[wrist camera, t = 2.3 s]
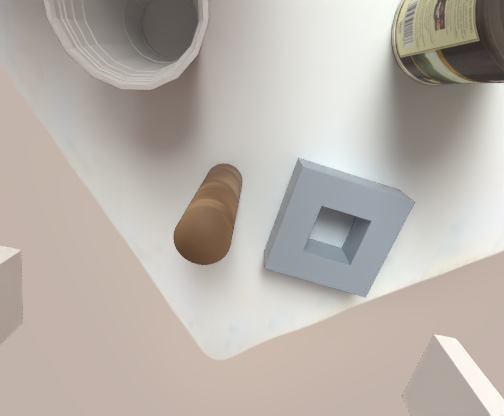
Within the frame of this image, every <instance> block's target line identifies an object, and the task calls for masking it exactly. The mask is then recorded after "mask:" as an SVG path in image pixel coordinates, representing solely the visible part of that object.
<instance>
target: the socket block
mask: <svg viewBox="0 0 504 416" xmlns="http://www.w3.org/2000/svg"><path fill="white" fill-rule="evenodd" d="M414 203H415V201H413V200H412V199H411V198H409V197H408V196H407V195H405V194H404V193H403V192H401V191H400V190H397V189H394V188H391V187H388V186H385V185H382V184H379V183H376V182H372V181H369V180H366V179H363V178H360V177H357V176H354V175H350V174H347V173H344V172H341V171H338V170H335V169H332V168H328V167H325V166H322V165H319V164H316V163H313V162H310V161H306V160H303V159H300V158H298V161H297V163H296V166H295V169H294V172H293V174H292V177H291V180H290V182H289V185H288V188H287V191H286V193H285V196H284V199H283V202H282V204H281V207H280V210H279V212H278V215H277V218H276V221H275V223H274V226H273V229H272V232H271V234H270V237H269V240H268V242H267V245H266V248H265V251H264V261H265V269H269V270H272V271H276V272H279V273H283V274H286V275H290V276H293V277H297V278H300V279H303V280H307V281H310V282H314V283H317V284H321V285H324V286H328V287H331V288H335V289H338V290H342V291H345V292H349V293H352V294H356V295H359V296H363V297H366V296H367V294H368V292H369V290H370V288H371V286H372V284H373V282H374V280H375V278H376V276H377V274H378V273H379V271H380V269H381V267H382V265H383V263H384V261H385V259H386V257H387V255H388V253H389V251H390V249H391V248H392V246H393V244H394V242H395V240H396V238H397V236H398V234H399V232H400V230H401V228H402V226H403V224H404V222H405V221H406V219H407V217H408V215H409V213H410V211H411V209H412V207H413V205H414ZM321 206H324V207H328V208H331V209H334V210H337V211H341V212H344V213H347V214H350V215H354V216H357V217H356V219H355V221H354V223H353V225H352V227H351V230H350V232H349V234H348V236H347V238H346V241H345V243H344V245H343V247H342V248H339V247H335V246H332V245H328V244H325V243H322V242H318V241H315V240H312V239H308V238H309V235H310V233H311V231H312V228H313V226H314V223H315V221H316V218H317V216H318V214H319V211H320V209H321Z"/></svg>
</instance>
